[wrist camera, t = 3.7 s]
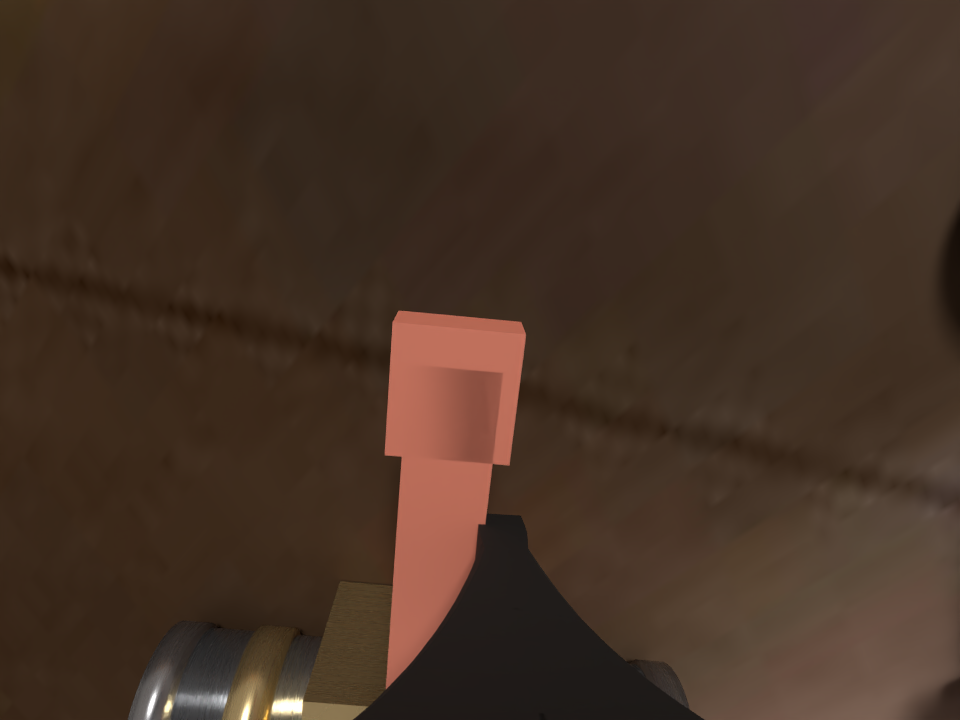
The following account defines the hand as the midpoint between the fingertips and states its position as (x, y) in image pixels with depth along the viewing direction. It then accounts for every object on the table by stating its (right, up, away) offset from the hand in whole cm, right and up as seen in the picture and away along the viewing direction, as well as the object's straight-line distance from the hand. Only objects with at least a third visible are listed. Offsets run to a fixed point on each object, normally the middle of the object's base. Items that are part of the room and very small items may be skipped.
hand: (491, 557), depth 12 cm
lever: (-1, -2, +1) cm, 3 cm away
